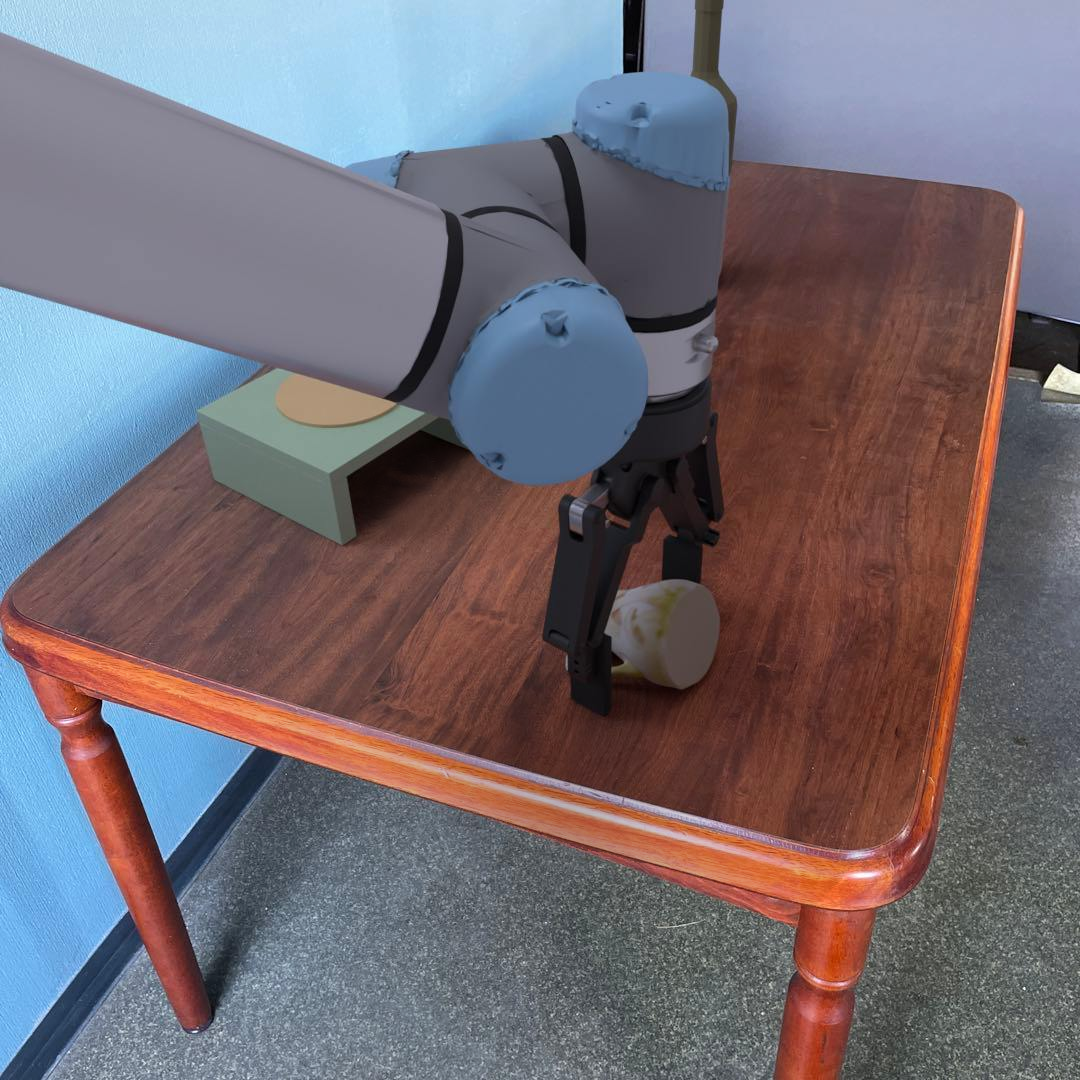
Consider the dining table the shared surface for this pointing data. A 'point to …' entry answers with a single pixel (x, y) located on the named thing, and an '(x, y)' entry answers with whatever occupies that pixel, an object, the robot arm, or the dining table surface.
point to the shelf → (305, 444)
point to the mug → (664, 632)
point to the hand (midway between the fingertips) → (636, 657)
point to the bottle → (713, 72)
